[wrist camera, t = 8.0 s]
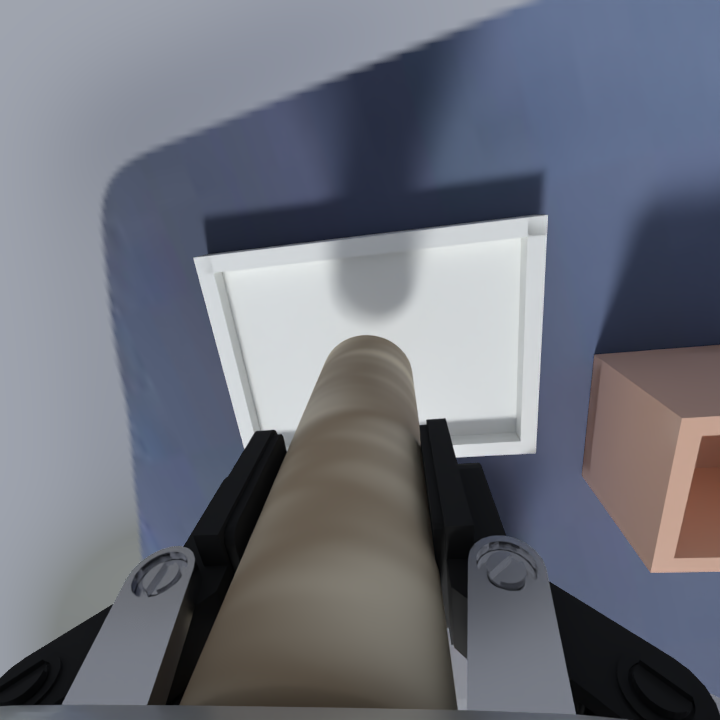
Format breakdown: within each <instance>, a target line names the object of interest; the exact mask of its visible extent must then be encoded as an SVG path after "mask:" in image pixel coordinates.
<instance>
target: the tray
mask: <svg viewBox="0 0 720 720" xmlns="http://www.w3.org/2000/svg"><path fill="white" fill-rule="evenodd" d="M547 223H548V215H527V216H519V217H511V218H503V219H494V220H486V221H478V222H470V223H461V224H453V225H445V226H437V227H428V228H420V229H412V230H404V231H395V232H387V233H379V234H371V235H362V236H354V237H346V238H338V239H329V240H321V241H313V242H305V243H296V244H288V245H280V246H272V247H263V248H255V249H247V250H239V251H230V252H222V253H214V254H207V255H203V256H199V257H194V262H195V266H196V270H197V273H198V277H199V281H200V285H201V288H202V292H203V296H204V300H205V303H206V307H207V311H208V315H209V318H210V322H211V326H212V329H213V333H214V337H215V341H216V344H217V348H218V352H219V356H220V359H221V363H222V367H223V371H224V374H225V378H226V382H227V386H228V389H229V393H230V397H231V401H232V404H233V408H234V412H235V416H236V419H237V423H238V427H239V431H240V434H241V438H242V442H243V446H244V449H245V448H246V446H247V444H248V443H249V441H250V439H251V438H252V436H253V434H254V433H255V432H256V431H263V430H276V432H277V434H282V435H283V437H284V441H285V446H286V450H288V448H289V446H290V443H291V441H292V439H293V436H294V434H295V432H296V429H297V427H298V425H299V422H300V420H301V418H302V415H303V413H304V410H305V408H306V406H307V403H308V401H309V399H310V396H311V394H312V392H313V389H314V387H315V385H316V382H317V380H318V378H319V375H320V373H321V370H322V368H323V366H324V363H325V361H326V359H327V357H328V355H329V354H330V352H331V351H332V350H333V349H334V348H335V347H336V346H337V345H338V344H340V343H341V342H343V341H344V340H347V339H349V338H351V337H355V336H360V335H373V336H378V337H382V338H385V339H387V340H389V341H391V342H393V343H394V344H395V345H397V346H398V347H399V348H400V349H401V350H402V351H403V352H404V353H405V355H406V356H407V358H408V360H409V362H410V365H411V368H412V374H413V381H414V389H415V396H416V403H417V411H418V418H419V425H426V419H441V418H446V421H447V425H448V429H449V433H450V437H451V441H452V444H453V448H454V452H455V456H456V457H473V456H493V455H512V454H531V453H536V439H537V419H538V399H539V380H540V360H541V341H542V321H543V302H544V282H545V263H546V243H547Z"/></svg>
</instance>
